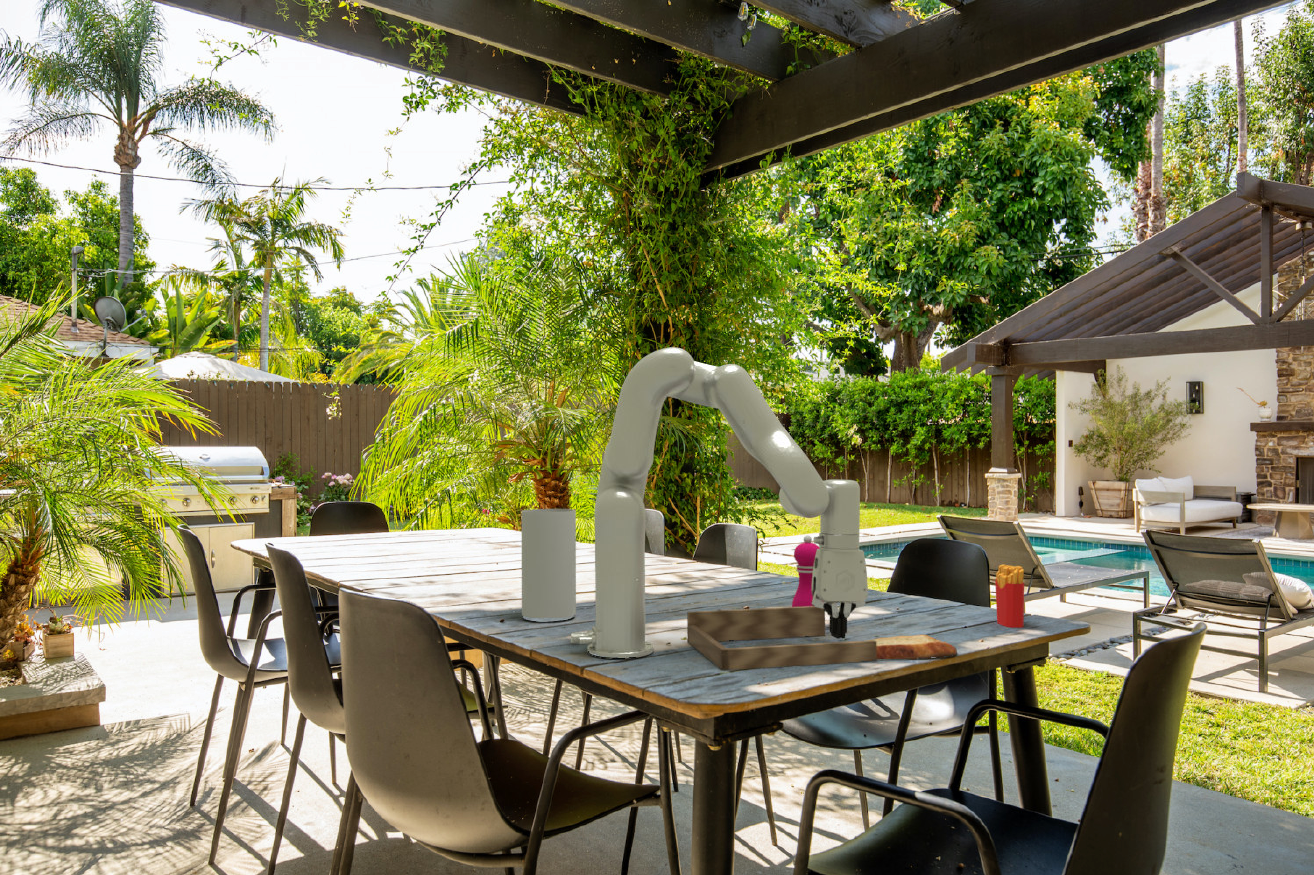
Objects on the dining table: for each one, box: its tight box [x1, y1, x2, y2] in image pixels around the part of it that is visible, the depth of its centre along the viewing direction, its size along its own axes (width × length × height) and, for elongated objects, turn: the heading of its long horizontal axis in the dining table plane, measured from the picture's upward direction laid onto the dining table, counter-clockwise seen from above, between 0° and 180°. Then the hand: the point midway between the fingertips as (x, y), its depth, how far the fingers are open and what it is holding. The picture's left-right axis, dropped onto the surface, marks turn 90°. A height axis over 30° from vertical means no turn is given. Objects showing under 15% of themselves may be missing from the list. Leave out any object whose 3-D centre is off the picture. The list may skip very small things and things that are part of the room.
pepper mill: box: [791, 535, 823, 607], centre depth 190 cm, size 7×7×20 cm
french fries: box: [994, 563, 1025, 629], centre depth 192 cm, size 9×4×13 cm, turn 2°
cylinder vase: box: [521, 508, 577, 619], centre depth 203 cm, size 12×12×25 cm
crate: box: [686, 606, 878, 671], centre depth 167 cm, size 29×24×6 cm
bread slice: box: [865, 634, 958, 660], centre depth 164 cm, size 18×18×4 cm
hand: (838, 636), depth 170 cm, fingers closed
